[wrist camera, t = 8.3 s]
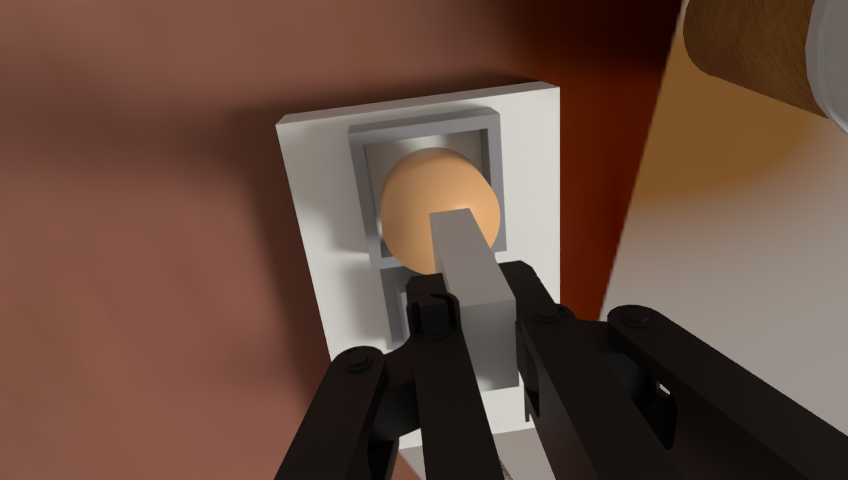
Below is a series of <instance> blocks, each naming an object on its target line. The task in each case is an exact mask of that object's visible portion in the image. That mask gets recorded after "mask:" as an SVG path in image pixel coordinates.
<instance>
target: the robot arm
mask: <svg viewBox="0 0 848 480" xmlns="http://www.w3.org/2000/svg"><path fill="white" fill-rule="evenodd" d="M429 218H430V227H431V235H432V244H433V252H434V261H435V269H436V273H435V274H428V275H421V276H414V277H411V278H410V279H409V281H408V282H407V284H406V286H405V287H406V296H407V306H406V312H407V319H408V326H409V332H410V336H409V338H408V340H407V341H406V342H405V343H404V344H403V345H402V346H400V347H399V348H398V349H395V350H393V351H391V352H389V353H386V354H383V353H382V351H381V350H380V349H378V348H376V347H373V346H365V345H364V346H356V347H352V348H349V349H347V350H344V351H343V352H341V353H340V354H338V355H337V356H336V357H335V358H334V359H333V361H332V362H331V364H330V366H329V368H328V370H327V372H326V374H325V376H324V378H323V380H322V382H321V384H320V386H319V388H318V390H317V392H316V394H315V396H314V398H313V400H312V403H311V405H310V407H309V409H308V411H307V413H306V415H305V417H304V419H303V421H302V423H301V425H300V427H299V429H298V431H297V433H296V435H295V437H294V439H293V441H292V443H291V445H290V447H289V449H288V451H287V453H286V456H285V458H284V460H283V462H282V464H281V466H280V468H279V470H278V472H277V474H276V476H275V478H274V480H391V478H392V474H393V470H394V466H395V461H396V457H397V453H398V449H399V438H400V437H402V436H404V435H406V434H409V433H411V432H413V431H415V430H418V429H421V438H422V447H423V456H424V465H425V473H426V480H505V478H504V474H503V471H502V467H501V464H500V460H499V457H498V453H497V450H496V447H495V443H494V440H493V436H492V432H491V429H490V425H489V422H488V418H487V415H486V411H485V408H484V404H483V401H482V397H481V394H480V392H485V391H492V390H499V389H505V388H512V387H518V386H519V373H520V375H521V378H522V380H523V383H524V409H525V422H530V416H529V415H531V417H532V420H533V423H534V425H535V428H536V430H537V433H538V435H539V438H540V440H541V443H542V446H543V448H544V450H545V453H546V456H547V458H548V461H549V463H550V466H551V469H552V471H553V474H554V476H555V479H556V480H848V436H847V435H845V434H844V433H842V432H840V431H839V430H837V429H836V428H834V427H833V426H831V425H830V424H828V423H827V422H825V421H824V420H822V419H821V418H819V417H818V416H816V415H815V414H813V413H812V412H810V411H808V410H807V409H806V408H804V407H802V406H801V405H799V404H798V403H796V402H795V401H793V400H792V399H790V398H789V397H787V396H786V395H784V394H782V393H781V392H780V391H778V390H777V389H775V388H773V387H772V386H770V385H769V384H767V383H766V382H764V381H763V380H761V379H760V378H758V377H757V376H755V375H754V374H752V373H751V372H749V371H748V370H746V369H744V368H743V367H741V366H740V365H738V364H737V363H735V362H734V361H732V360H731V359H729V358H728V357H726V356H725V355H723V354H722V353H720V352H719V351H717V350H716V349H714V348H712V347H711V346H709V345H708V344H706V343H705V342H703V341H702V340H700V339H699V338H697V337H696V336H694V335H693V334H691V333H690V332H688V331H687V330H685V329H684V328H682V327H681V326H679V325H678V324H676V323H674V322H673V321H671V320H669V319H668V318H667V317H665V316H664V315H662V314H660V313H659V312H657V311H655V310H653V309H651V308H648V307H644V306H640V305H624V306H618V307H616V308H614V309H612V310H611V311H610V312H609V314H608V315H607V322H603V321H588V320H580V319H577V318H576V316H575V315H574V313H573V312H572V311H571V310H570V309H569V308H568V307H566V306H563V305H561V304H558V303H555V302H554V300H553V299H552V297H551V296H550V294H549V292H548V291H547V289H546V288H545V286H544V285H543V283H542V282H541V280H540V278H539V277H538V276H537V274H536V272H535V271H534V269H533V268H532V266H530V265H528V264H527V263H525V262H523V261H521V260H517V261H510V262H503V263H497V261H496V259H495V257H494V255H493V254H492V252H491V250H490V248H489V246H488V244H487V242H486V240H485V238H484V236H483V234H482V232H481V230H480V228H479V226H478V224H477V222H476V220H475V218H474V216H473V214H472V212H471V210H470V208H464V209H456V210H449V211H442V212H435V213H429ZM660 384H662V385H663V386H664V387H665V388H666V389H667V390H669V392H670V395H669V394H667V393H666V392H664V391H663V390H662V389H661V388H660Z"/></svg>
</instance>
